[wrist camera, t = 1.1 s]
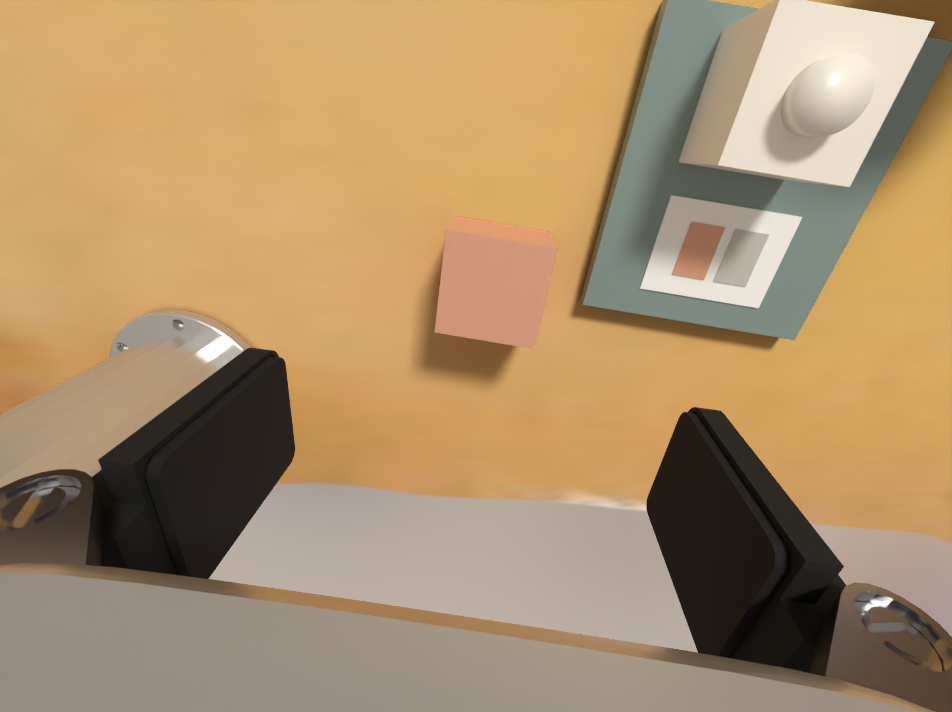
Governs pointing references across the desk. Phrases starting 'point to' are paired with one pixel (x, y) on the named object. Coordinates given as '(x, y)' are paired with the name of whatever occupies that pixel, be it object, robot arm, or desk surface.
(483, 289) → the terracotta brick
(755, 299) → the baseplate
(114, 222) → the desk surface
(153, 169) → the desk surface
